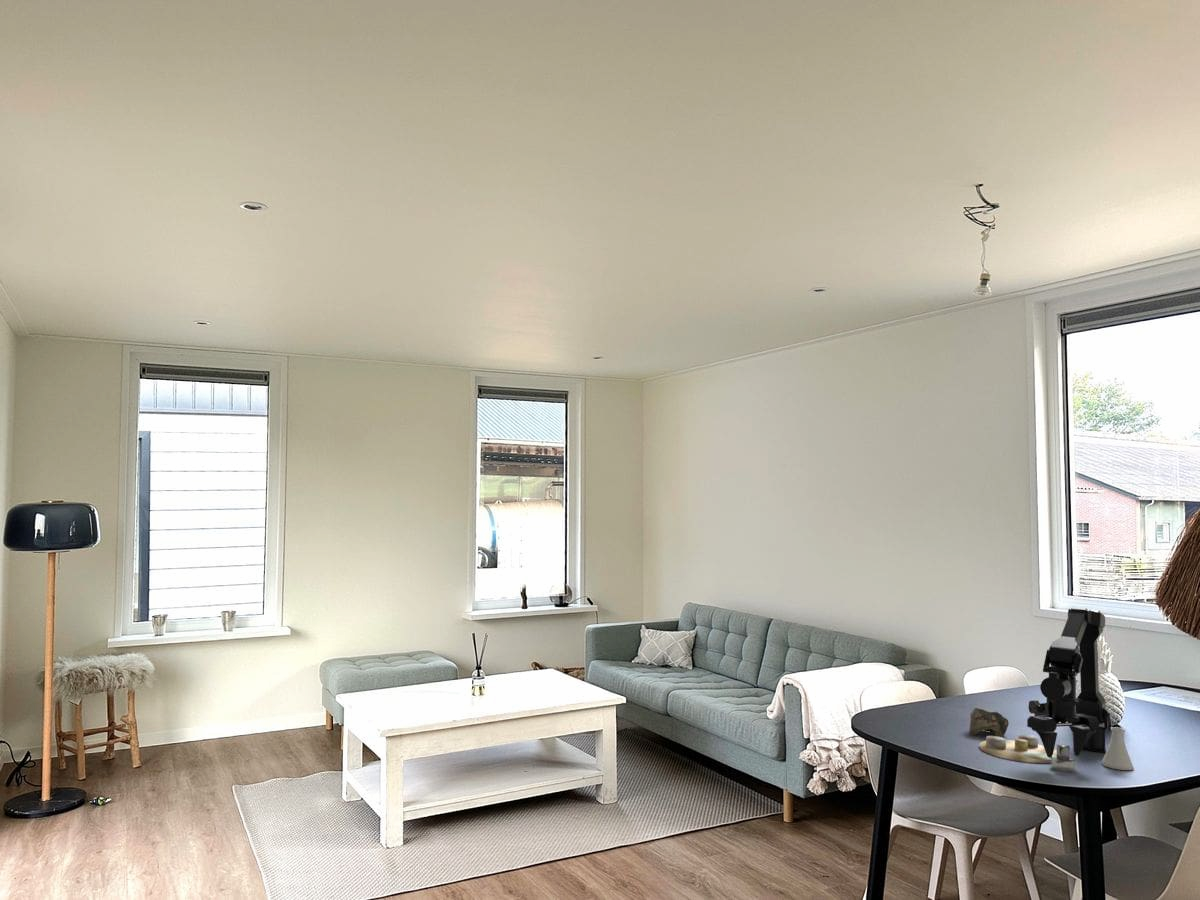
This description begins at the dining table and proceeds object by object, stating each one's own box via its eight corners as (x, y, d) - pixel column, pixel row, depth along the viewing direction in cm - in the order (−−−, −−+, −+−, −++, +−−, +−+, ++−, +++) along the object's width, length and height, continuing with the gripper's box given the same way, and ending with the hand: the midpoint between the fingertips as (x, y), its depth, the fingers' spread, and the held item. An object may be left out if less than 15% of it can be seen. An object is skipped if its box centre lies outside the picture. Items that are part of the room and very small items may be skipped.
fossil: (1005, 730, 271) (1009, 703, 267) (1008, 751, 263) (1013, 724, 259) (966, 725, 274) (969, 699, 270) (969, 746, 266) (972, 719, 262)
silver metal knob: (1074, 768, 234) (1074, 745, 234) (1075, 773, 228) (1075, 749, 229) (1050, 765, 236) (1050, 741, 236) (1051, 770, 231) (1051, 746, 231)
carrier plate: (1063, 749, 252) (1063, 737, 252) (1065, 767, 233) (1065, 755, 234) (981, 738, 261) (981, 727, 262) (977, 755, 243) (977, 742, 243)
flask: (1122, 763, 240) (1122, 725, 241) (1139, 771, 233) (1139, 732, 234) (1096, 762, 240) (1096, 724, 241) (1112, 770, 233) (1112, 731, 233)
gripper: (1066, 688, 244) (1065, 746, 243) (1011, 689, 238) (1010, 750, 237) (1101, 696, 234) (1100, 757, 233) (1044, 698, 228) (1044, 761, 227)
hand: (1063, 756), depth 232 cm, fingers open, 9 cm apart
